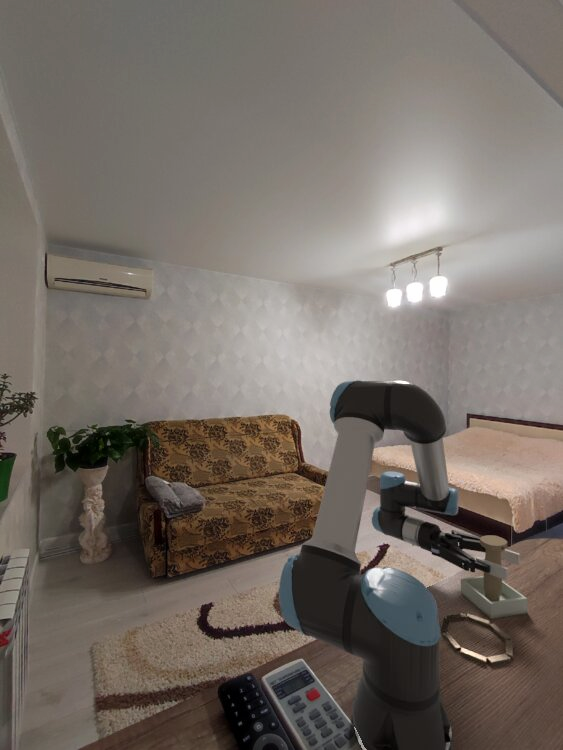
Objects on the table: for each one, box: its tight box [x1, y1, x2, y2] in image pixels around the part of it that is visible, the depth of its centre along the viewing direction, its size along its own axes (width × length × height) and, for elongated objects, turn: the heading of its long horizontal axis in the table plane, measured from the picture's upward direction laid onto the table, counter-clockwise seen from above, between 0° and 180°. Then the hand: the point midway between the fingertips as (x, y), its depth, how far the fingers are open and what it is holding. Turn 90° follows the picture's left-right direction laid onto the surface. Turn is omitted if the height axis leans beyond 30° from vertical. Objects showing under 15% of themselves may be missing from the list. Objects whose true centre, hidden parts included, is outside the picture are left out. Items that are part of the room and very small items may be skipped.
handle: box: [480, 534, 508, 602], centre depth 85 cm, size 5×6×15 cm
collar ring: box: [440, 612, 514, 667], centre depth 73 cm, size 13×13×1 cm
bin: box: [460, 575, 528, 620], centre depth 85 cm, size 10×10×4 cm
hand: (513, 566), depth 81 cm, fingers open, 9 cm apart
